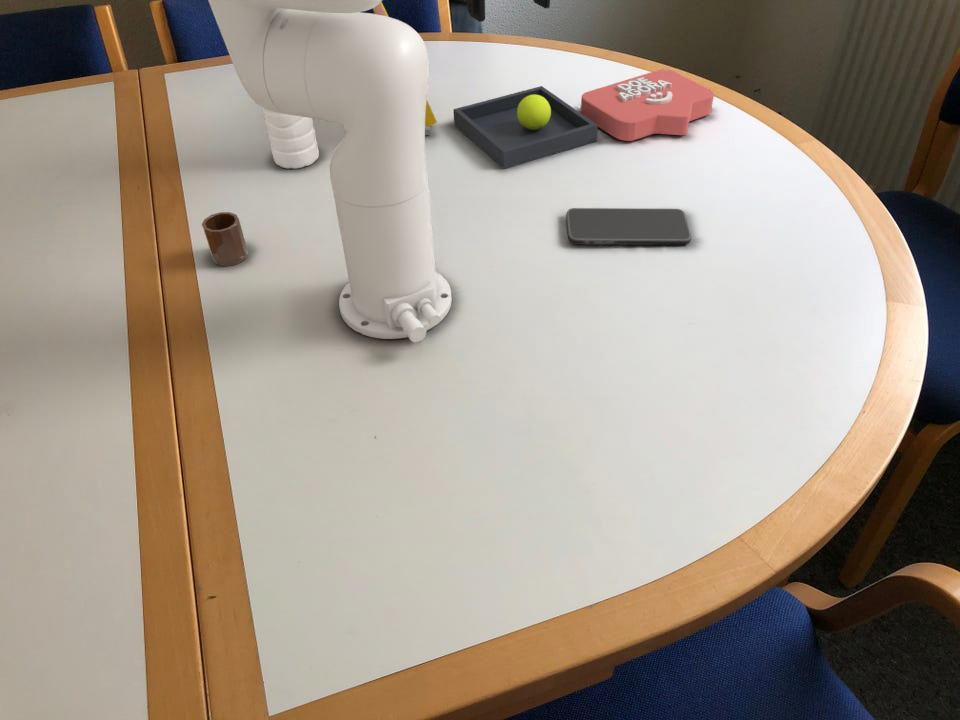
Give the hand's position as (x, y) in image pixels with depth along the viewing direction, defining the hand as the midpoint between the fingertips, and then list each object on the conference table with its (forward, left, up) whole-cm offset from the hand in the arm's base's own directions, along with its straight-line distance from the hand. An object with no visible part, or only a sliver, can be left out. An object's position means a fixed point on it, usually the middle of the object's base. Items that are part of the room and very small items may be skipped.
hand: (509, 11), depth 104 cm
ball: (+1, -5, -16) cm, 16 cm away
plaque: (-5, -22, -19) cm, 29 cm away
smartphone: (-28, -1, -19) cm, 33 cm away
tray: (+1, -3, -19) cm, 19 cm away
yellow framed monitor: (+15, +11, -19) cm, 27 cm away
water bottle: (+12, +30, -19) cm, 37 cm away
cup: (-8, +44, -19) cm, 48 cm away
